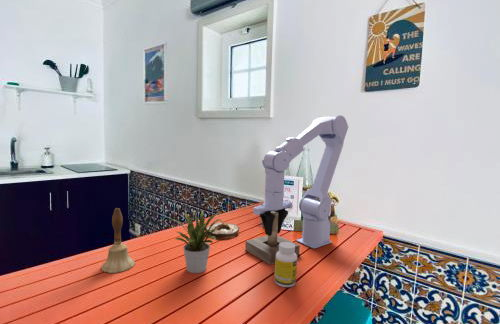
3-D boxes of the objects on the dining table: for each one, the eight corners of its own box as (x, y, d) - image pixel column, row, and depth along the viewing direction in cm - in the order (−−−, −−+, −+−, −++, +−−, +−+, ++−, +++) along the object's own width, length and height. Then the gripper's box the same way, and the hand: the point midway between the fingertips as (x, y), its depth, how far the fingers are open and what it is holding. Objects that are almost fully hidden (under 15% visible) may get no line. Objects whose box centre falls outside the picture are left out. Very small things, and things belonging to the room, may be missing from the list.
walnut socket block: (273, 241, 96) (273, 233, 96) (299, 254, 86) (299, 245, 86) (245, 250, 89) (245, 240, 88) (270, 264, 79) (270, 254, 79)
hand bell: (95, 266, 75) (93, 209, 74) (125, 256, 82) (124, 203, 80) (110, 276, 70) (109, 215, 69) (140, 265, 77) (140, 208, 75)
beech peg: (272, 241, 89) (273, 211, 88) (279, 244, 87) (280, 213, 86) (265, 243, 87) (266, 212, 86) (271, 246, 85) (273, 214, 84)
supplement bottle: (295, 289, 67) (297, 250, 66) (273, 286, 68) (274, 247, 67) (296, 278, 72) (298, 241, 71) (275, 275, 73) (277, 239, 72)
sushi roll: (193, 233, 103) (193, 222, 102) (223, 224, 114) (223, 214, 113) (220, 245, 93) (221, 233, 92) (250, 234, 104) (250, 223, 104)
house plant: (235, 262, 80) (236, 206, 78) (213, 286, 67) (215, 221, 65) (192, 253, 85) (192, 201, 83) (163, 275, 72) (163, 213, 70)
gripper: (282, 186, 93) (280, 225, 94) (247, 190, 84) (246, 234, 86) (298, 190, 87) (295, 232, 89) (262, 195, 79) (261, 241, 80)
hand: (272, 233), depth 87 cm, fingers closed on beech peg, 3 cm apart
